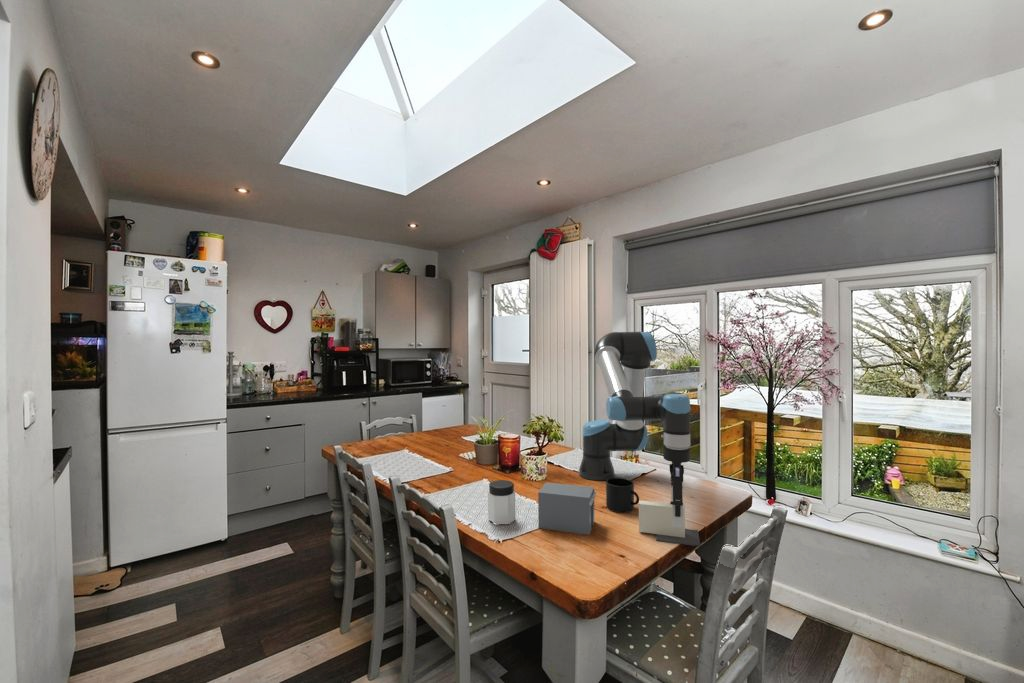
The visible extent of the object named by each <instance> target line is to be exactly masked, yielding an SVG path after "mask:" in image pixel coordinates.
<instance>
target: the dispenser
mask: <svg viewBox="0 0 1024 683" xmlns="http://www.w3.org/2000/svg"><path fill="white" fill-rule="evenodd" d="M537 494H538V496H537V497H538V503H537V504H538V505H537V506H538V511H537V512H538V517H537V518H538V529H544V530H552V531H558V532H559V531H560V532H563V533H565V532H566V533H572V534H578V535H579V534H580V535H587V536H588V535H591V532H592V526H594V524H595V498H596V496H597V491H596V490H595V487H594V486H585V485H577V484H576V485H575V484H566V483H565V484H564V483H555V482H545V483H544V485H543V486H542V487H541V488H540V489H539V491H538V492H537Z"/></svg>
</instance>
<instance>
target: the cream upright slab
mask: <svg viewBox="0 0 1024 683" xmlns="http://www.w3.org/2000/svg"><path fill="white" fill-rule="evenodd" d="M685 508H686V507H685V505H684V504H683V528H679V527H673V525H672V505H671V504H670V502H669V503H667V502H658V501H649V500H640V499H639V502H638V532H639V533H644V534H645V533H647V534H654V535H656V534H660V535H668V536H675V537H683V538H685V529H686V509H685Z"/></svg>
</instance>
